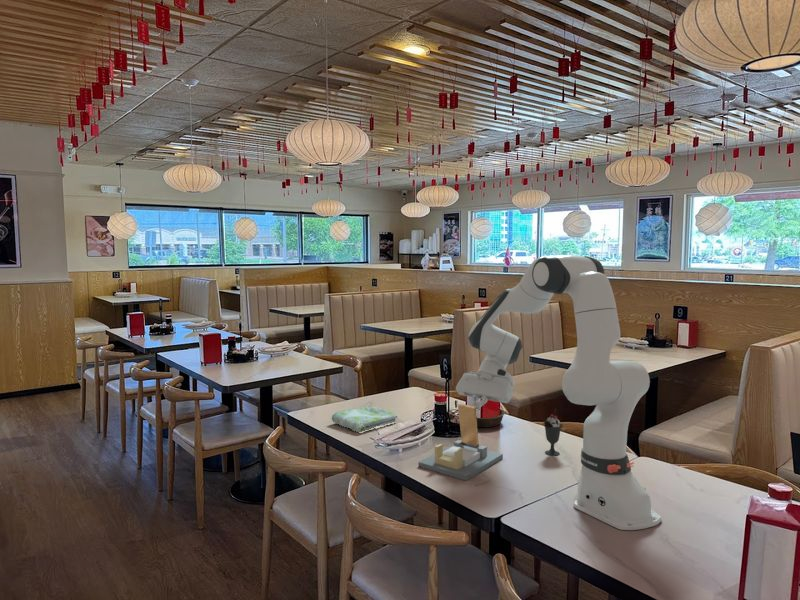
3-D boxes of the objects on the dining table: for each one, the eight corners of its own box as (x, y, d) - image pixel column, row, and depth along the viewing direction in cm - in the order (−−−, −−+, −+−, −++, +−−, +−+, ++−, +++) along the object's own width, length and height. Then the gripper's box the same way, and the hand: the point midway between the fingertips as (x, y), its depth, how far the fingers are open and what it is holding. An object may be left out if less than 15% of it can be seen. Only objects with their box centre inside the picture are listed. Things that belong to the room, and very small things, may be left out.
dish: (449, 424, 218) (449, 412, 218) (480, 413, 234) (480, 401, 234) (485, 434, 206) (485, 421, 206) (515, 421, 222) (516, 409, 222)
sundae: (560, 450, 189) (560, 408, 187) (564, 457, 182) (564, 413, 181) (540, 449, 189) (541, 407, 188) (544, 456, 182) (544, 413, 181)
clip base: (457, 446, 192) (457, 427, 192) (502, 458, 181) (502, 438, 180) (418, 466, 175) (418, 445, 174) (465, 480, 163) (465, 458, 163)
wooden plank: (464, 443, 184) (460, 403, 181) (479, 447, 181) (475, 406, 177) (461, 445, 183) (457, 405, 180) (476, 449, 179) (473, 408, 176)
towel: (399, 423, 221) (399, 411, 220) (358, 435, 206) (358, 422, 206) (370, 414, 234) (370, 402, 233) (330, 425, 219) (330, 412, 219)
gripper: (461, 365, 195) (446, 398, 188) (513, 373, 182) (498, 408, 175) (468, 375, 198) (453, 407, 192) (519, 383, 186) (505, 418, 179)
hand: (475, 408), depth 183 cm, fingers closed
